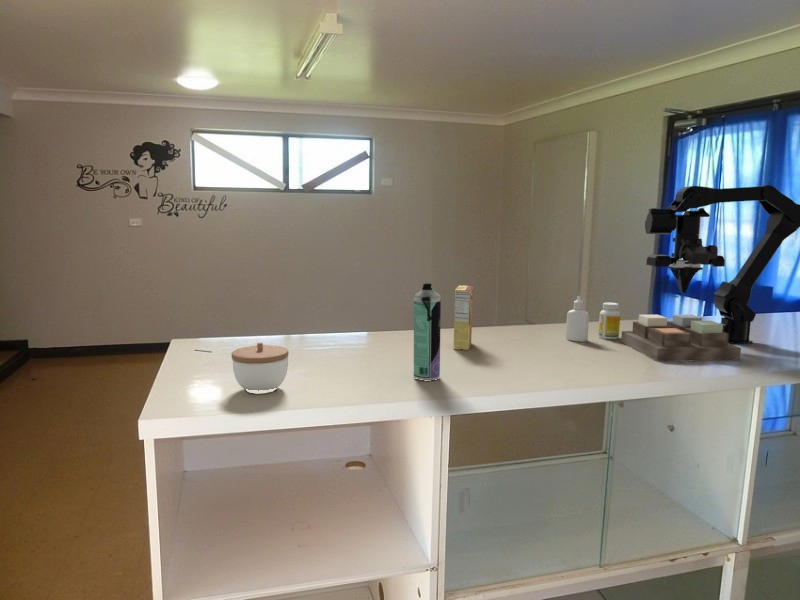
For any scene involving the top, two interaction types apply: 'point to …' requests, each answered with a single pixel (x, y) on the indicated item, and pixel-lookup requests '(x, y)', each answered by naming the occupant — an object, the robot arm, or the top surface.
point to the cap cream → (652, 320)
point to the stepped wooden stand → (680, 344)
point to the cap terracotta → (668, 330)
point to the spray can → (427, 333)
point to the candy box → (463, 317)
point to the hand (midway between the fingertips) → (682, 292)
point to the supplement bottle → (609, 321)
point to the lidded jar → (260, 366)
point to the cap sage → (706, 326)
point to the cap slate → (685, 319)
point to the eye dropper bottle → (577, 323)
